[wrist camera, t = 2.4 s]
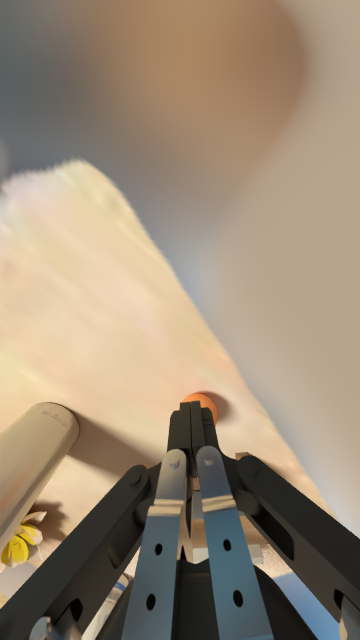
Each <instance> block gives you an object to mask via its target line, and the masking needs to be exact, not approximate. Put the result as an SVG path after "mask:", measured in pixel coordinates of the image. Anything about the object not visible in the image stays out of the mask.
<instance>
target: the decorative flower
mask: <svg viewBox="0 0 360 640" xmlns="http://www.w3.org/2000/svg"><path fill="white" fill-rule="evenodd" d="M46 513H47V512H35V513H32V514H29V515H27V514H26V516H25V517H24V519H23V520H22V522H21V523H20V525H19V526H18V528H17V530H16V531H15V533H14V534H13V536H12V537H11V539H10V540H9V542H8V543H7V545H6V546H5V548H4V549H3V551H2V552H1V554H0V573H1V572H2V571H3V570H4V568H5V566H6V565H7V566H9V567H12V568H13V567H15V566H16V565H17V564H18V565H19V564H22V563H24V562H25V561H26V560H35V561H42V560H43V556H42V553H41V551H40V549H39V547H38V545H37V544H40V542H41V541H42V539H43V538H42V533H41V531H40V530H39V529H38V528H37V527H35V526H37V525H39V523H40V522H41V521H42V519H43V518H44V516H45V515H46Z"/></svg>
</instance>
